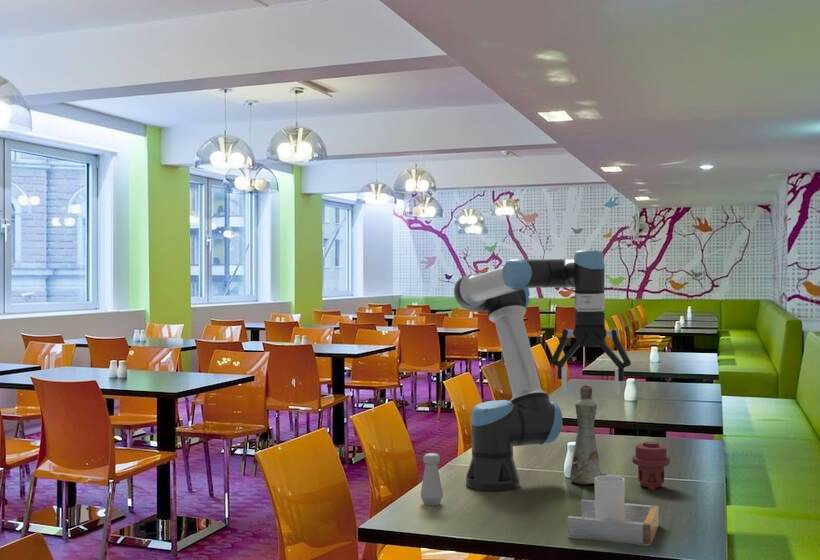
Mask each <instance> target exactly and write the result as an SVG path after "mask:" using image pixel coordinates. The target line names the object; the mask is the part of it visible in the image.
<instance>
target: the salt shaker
mask: <svg viewBox="0 0 820 560" xmlns="http://www.w3.org/2000/svg"><path fill="white" fill-rule="evenodd" d="M422 461H423V463H424V464H425V465H424V466H425V467H424V471H423V477H422V483H421V490H420V499H421V500H422V503H423V504H424V505H425V506H427V505H429V506H428V507H436V506H440V505H441V502H442V499H443V496H444V493H443V492H444V491H443V488H442V487H443V486H442V482H441V477H440V473H439V468H438V467H439V465H438V464H439V463H440V462H441V458H440V455H439V454H438V453H434V452H429V453H425V454H424V455H423V458H422ZM439 504H440V505H439ZM430 505H432V506H430ZM435 505H436V506H435Z"/></svg>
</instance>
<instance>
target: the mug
mask: <svg viewBox="0 0 820 560" xmlns="http://www.w3.org/2000/svg"><path fill="white" fill-rule="evenodd" d="M625 481H626V479H625V478H624V477H621V476H619V475H611V474H610V475H609V474H605V475H602V474H601V476H597V477H595V484H594V501H595V514H596V518H597V519H608V520H619V521H624V505H625V503H626V502H625V497H626V496H625V494H626V493H625V492H626V491H625V490H626V489H625V488H626V485H625Z"/></svg>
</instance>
